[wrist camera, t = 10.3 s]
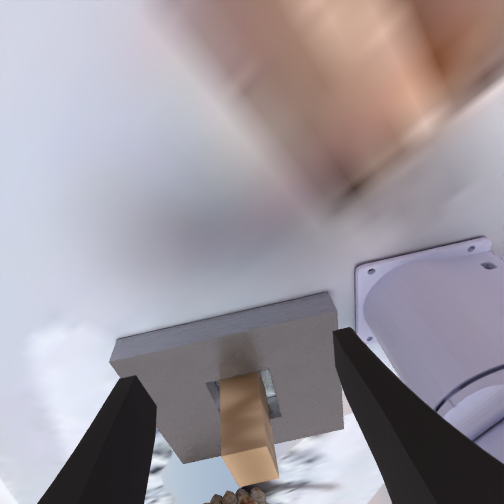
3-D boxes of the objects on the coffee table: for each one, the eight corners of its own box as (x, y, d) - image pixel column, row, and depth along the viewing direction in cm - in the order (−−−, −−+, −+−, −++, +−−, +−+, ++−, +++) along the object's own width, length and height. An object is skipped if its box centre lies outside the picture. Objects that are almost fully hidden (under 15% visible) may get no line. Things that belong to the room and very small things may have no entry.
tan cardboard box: (254, 356, 25) (266, 446, 19) (265, 390, 28) (279, 478, 22) (219, 364, 25) (221, 456, 19) (233, 397, 28) (239, 487, 22)
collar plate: (327, 291, 22) (337, 310, 20) (336, 408, 31) (343, 428, 29) (117, 339, 22) (109, 362, 21) (185, 442, 31) (183, 464, 29)
